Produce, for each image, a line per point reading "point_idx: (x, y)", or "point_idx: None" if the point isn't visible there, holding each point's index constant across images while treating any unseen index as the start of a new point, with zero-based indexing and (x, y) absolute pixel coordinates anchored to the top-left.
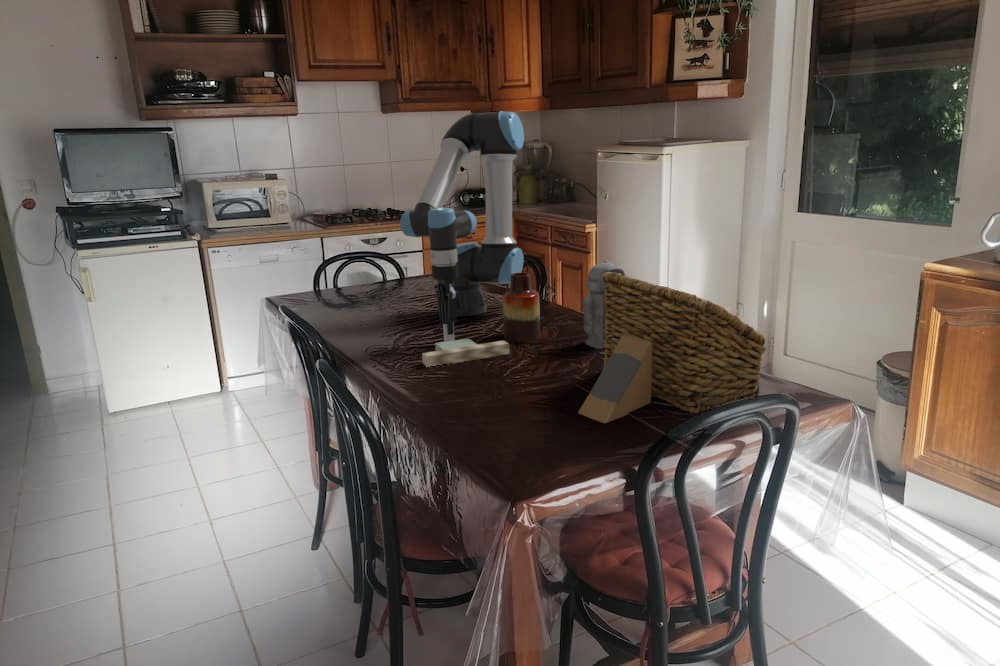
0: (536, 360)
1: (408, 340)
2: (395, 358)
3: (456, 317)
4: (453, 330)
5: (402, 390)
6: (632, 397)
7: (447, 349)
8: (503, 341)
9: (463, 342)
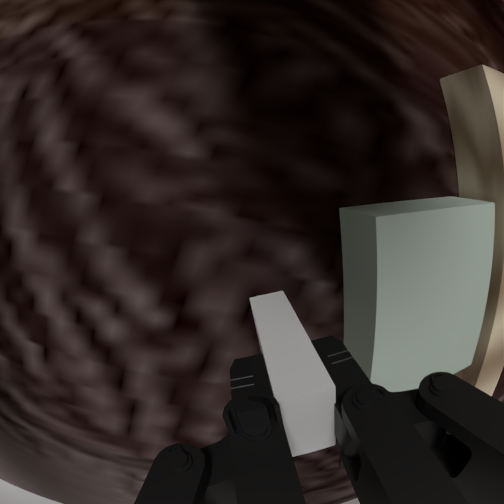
0: (493, 46)
1: (73, 423)
2: (300, 470)
3: (482, 394)
4: (311, 343)
5: (499, 400)
6: None
7: (487, 352)
8: (493, 76)
9: (438, 270)
